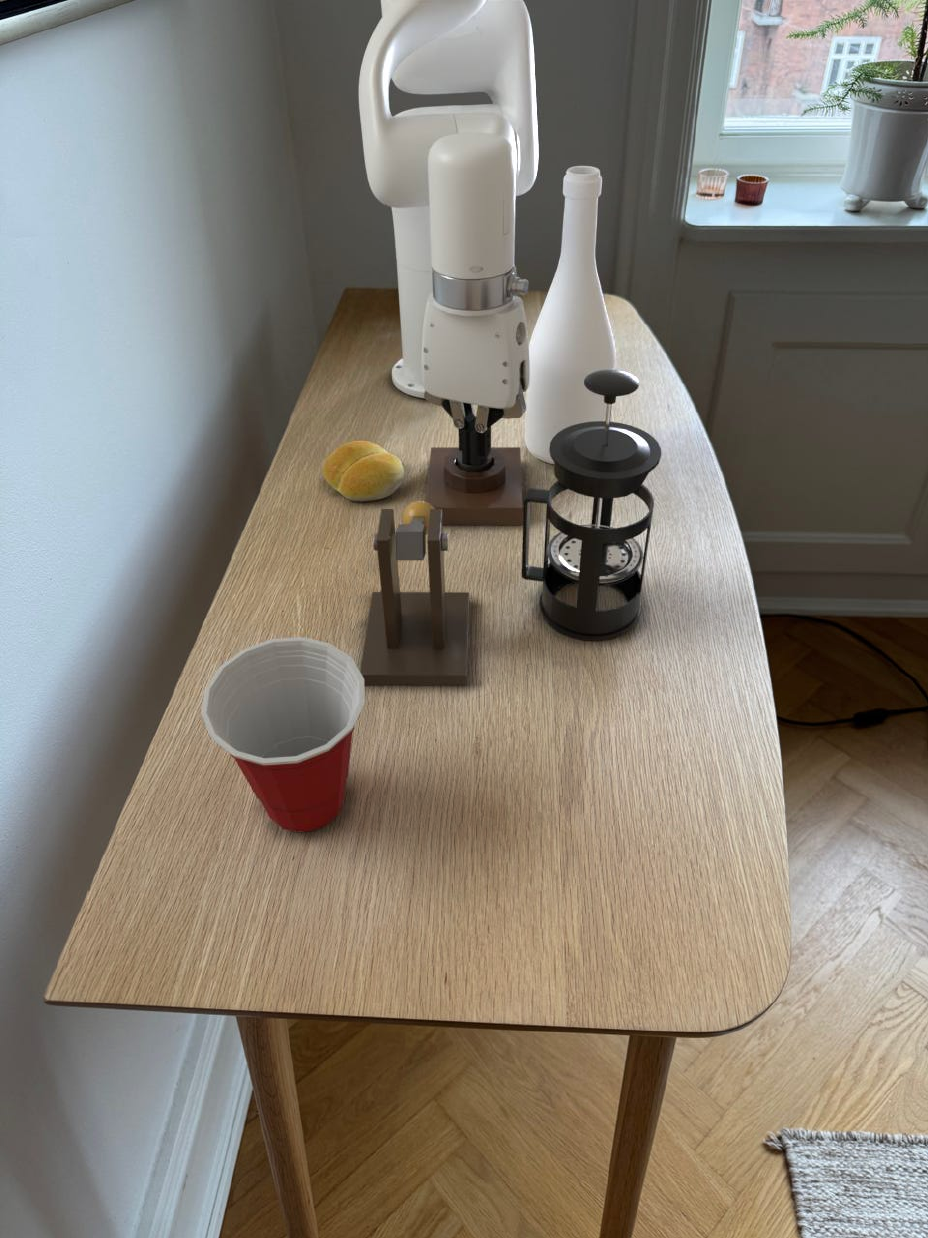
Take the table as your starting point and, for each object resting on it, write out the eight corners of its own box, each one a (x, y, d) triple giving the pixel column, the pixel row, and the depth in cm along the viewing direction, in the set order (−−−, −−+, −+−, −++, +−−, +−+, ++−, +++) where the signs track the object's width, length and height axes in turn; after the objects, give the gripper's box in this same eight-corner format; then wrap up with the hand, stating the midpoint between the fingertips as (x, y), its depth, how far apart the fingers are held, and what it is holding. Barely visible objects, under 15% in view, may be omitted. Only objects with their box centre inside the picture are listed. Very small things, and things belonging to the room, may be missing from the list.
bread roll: (360, 513, 97) (357, 481, 94) (313, 479, 102) (309, 448, 99) (421, 484, 101) (419, 453, 98) (373, 453, 106) (370, 422, 103)
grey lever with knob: (404, 531, 86) (404, 497, 85) (438, 531, 86) (438, 497, 85) (390, 565, 74) (389, 526, 73) (429, 565, 74) (429, 526, 73)
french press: (652, 583, 87) (686, 357, 72) (643, 649, 80) (680, 414, 65) (530, 567, 89) (539, 344, 74) (512, 630, 83) (518, 398, 67)
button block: (431, 464, 104) (430, 432, 101) (519, 464, 104) (520, 432, 101) (426, 525, 95) (424, 492, 92) (522, 525, 95) (523, 493, 92)
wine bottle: (507, 447, 107) (512, 170, 87) (561, 418, 111) (578, 150, 92) (569, 478, 101) (589, 191, 82) (623, 447, 106) (654, 169, 86)
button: (458, 462, 99) (458, 448, 98) (491, 462, 99) (491, 448, 98) (457, 480, 96) (457, 466, 95) (491, 480, 96) (491, 466, 95)
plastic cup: (240, 882, 63) (206, 771, 55) (226, 766, 71) (194, 654, 63) (393, 844, 66) (380, 732, 58) (363, 735, 73) (348, 623, 65)
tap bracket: (373, 601, 86) (361, 486, 77) (469, 602, 86) (467, 486, 77) (360, 685, 78) (345, 566, 69) (466, 685, 77) (464, 566, 69)
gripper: (563, 281, 85) (554, 455, 97) (417, 261, 89) (426, 429, 101) (535, 311, 79) (529, 491, 91) (382, 288, 84) (395, 462, 96)
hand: (475, 458), depth 96 cm, fingers closed
